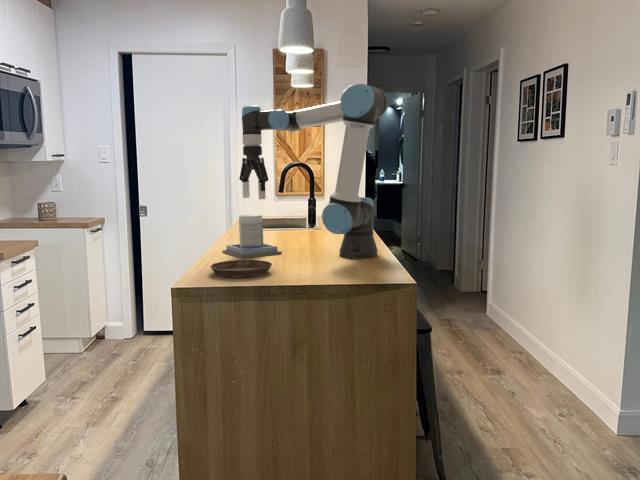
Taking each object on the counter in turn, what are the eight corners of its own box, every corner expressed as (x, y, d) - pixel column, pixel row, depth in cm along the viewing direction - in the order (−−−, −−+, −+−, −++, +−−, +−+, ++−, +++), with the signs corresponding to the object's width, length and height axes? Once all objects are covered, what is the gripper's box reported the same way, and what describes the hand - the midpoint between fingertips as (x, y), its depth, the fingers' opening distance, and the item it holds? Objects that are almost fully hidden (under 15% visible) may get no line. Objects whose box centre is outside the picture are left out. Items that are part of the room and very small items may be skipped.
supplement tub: (267, 251, 229) (266, 215, 227) (246, 253, 224) (245, 216, 222) (256, 248, 237) (255, 213, 235) (236, 250, 232) (235, 214, 230)
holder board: (281, 253, 228) (281, 246, 228) (241, 258, 218) (241, 250, 218) (261, 248, 243) (260, 241, 243) (222, 252, 233) (222, 245, 233)
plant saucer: (214, 268, 201) (214, 259, 200) (272, 267, 202) (272, 258, 202) (207, 281, 180) (206, 270, 180) (271, 279, 182) (271, 269, 181)
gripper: (276, 144, 218) (277, 199, 221) (246, 146, 238) (248, 196, 241) (259, 144, 213) (260, 200, 216) (230, 146, 234) (232, 197, 237)
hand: (254, 198), depth 229 cm, fingers open, 13 cm apart
